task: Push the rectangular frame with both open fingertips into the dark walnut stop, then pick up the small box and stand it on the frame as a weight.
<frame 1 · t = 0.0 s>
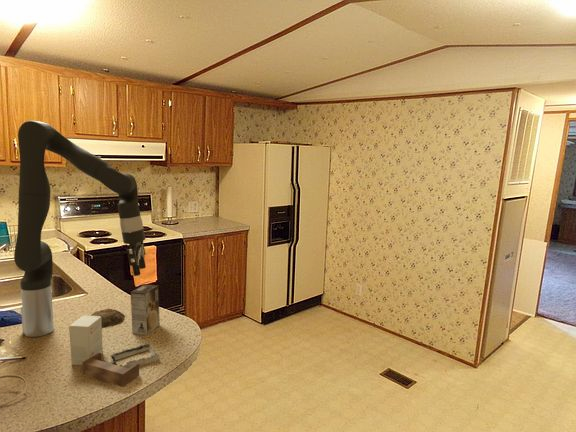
hand: (140, 271, 148), 22 cm above the worktop, tool pointing down, fingers open, 8 cm apart
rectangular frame: (134, 361, 130), on the worktop
walnut stop: (106, 378, 119), on the worktop
bread roll: (107, 321, 158), on the worktop
small box: (87, 359, 129), on the worktop
coffee box: (146, 329, 152), on the worktop
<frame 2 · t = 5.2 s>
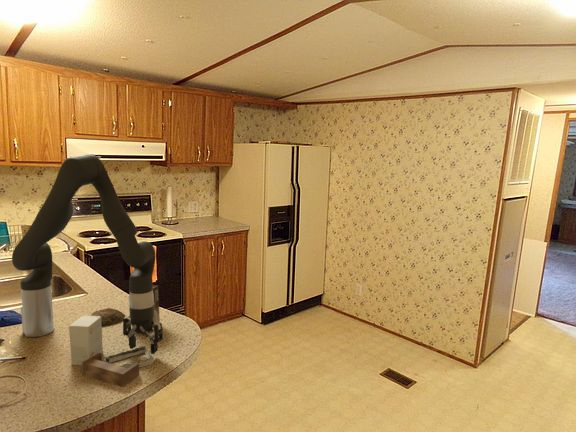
hand: (143, 350, 133), 1 cm above the worktop, tool pointing down, fingers open, 8 cm apart
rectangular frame: (129, 364, 128), on the worktop, touching gripper
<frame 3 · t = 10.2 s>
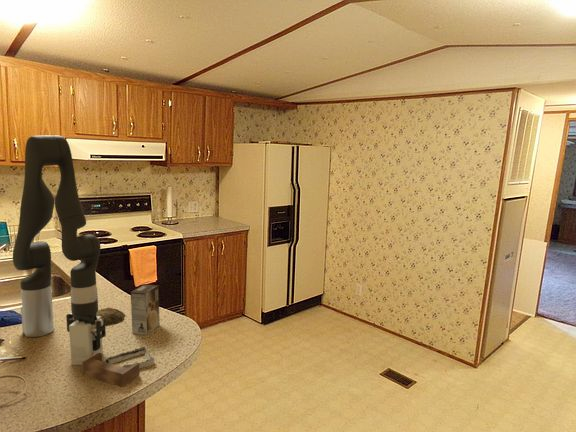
hand: (87, 347, 129), 4 cm above the worktop, tool pointing down, fingers closed on small box, 7 cm apart
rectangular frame: (129, 365, 127), on the worktop
small box: (87, 359, 129), on the worktop, touching gripper
when the fingers open (7 cm above the worktop, at t = 16.8 s): small box drops 1 cm, resting on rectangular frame.
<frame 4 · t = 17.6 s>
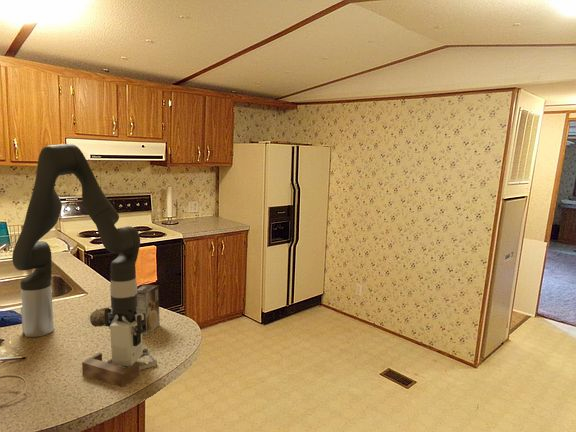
hand: (125, 342, 125), 8 cm above the worktop, tool pointing down, fingers open, 8 cm apart
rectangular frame: (131, 367, 127), on the worktop, touching small box
small box: (127, 360, 126), point 2 cm above the worktop, touching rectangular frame
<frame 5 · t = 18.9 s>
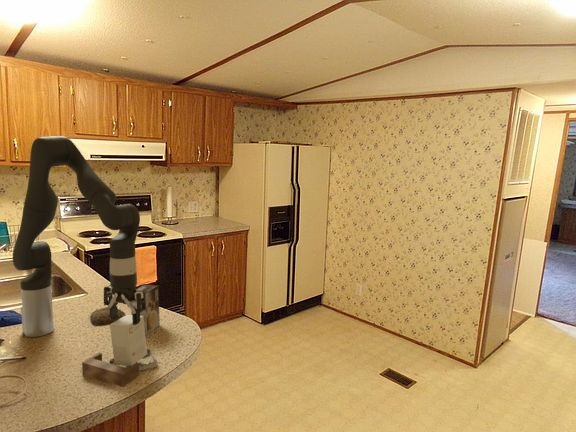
hand: (125, 321, 124), 15 cm above the worktop, tool pointing down, fingers open, 8 cm apart
small box: (131, 359, 125), point 2 cm above the worktop, touching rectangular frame, gripper
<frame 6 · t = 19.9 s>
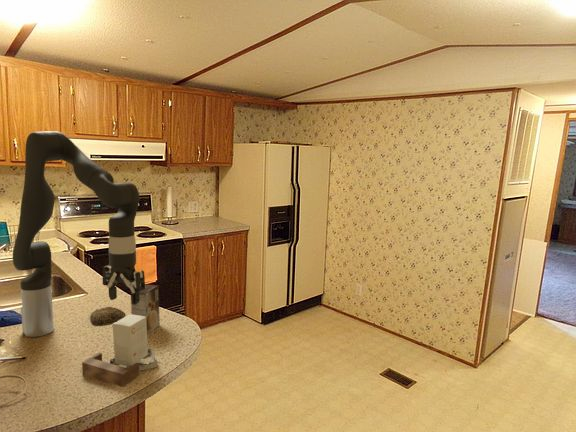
hand: (124, 301, 123), 21 cm above the worktop, tool pointing down, fingers open, 8 cm apart
small box: (131, 359, 126), point 2 cm above the worktop, touching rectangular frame
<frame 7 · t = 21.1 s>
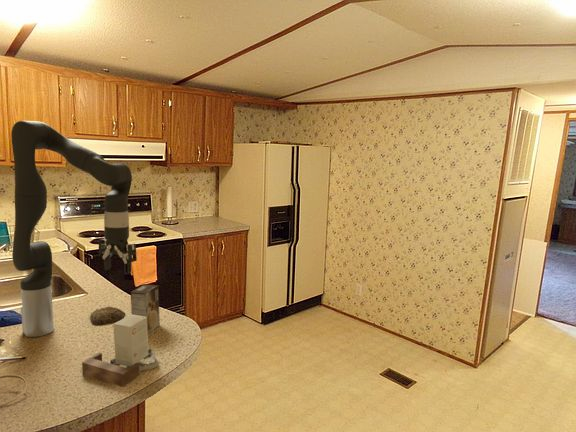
hand: (117, 271, 135), 26 cm above the worktop, tool pointing down, fingers open, 8 cm apart
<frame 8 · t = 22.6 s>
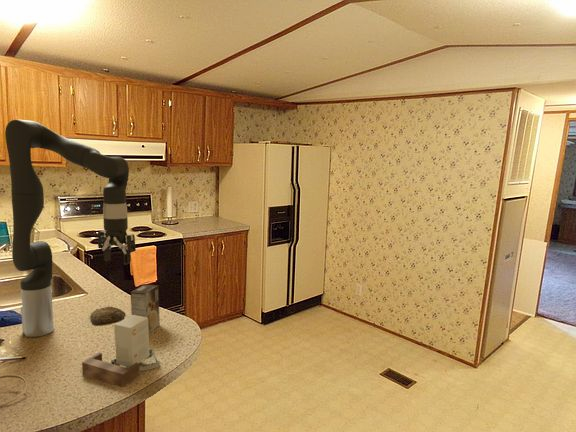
hand: (117, 262, 139), 28 cm above the worktop, tool pointing down, fingers open, 8 cm apart
at the end: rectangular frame 2.7 cm from the target spot, on the worktop; small box inside the target area on the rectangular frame (0.6 cm from its centre), point 2.9 cm above the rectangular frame's base; small box tilted 0° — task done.
